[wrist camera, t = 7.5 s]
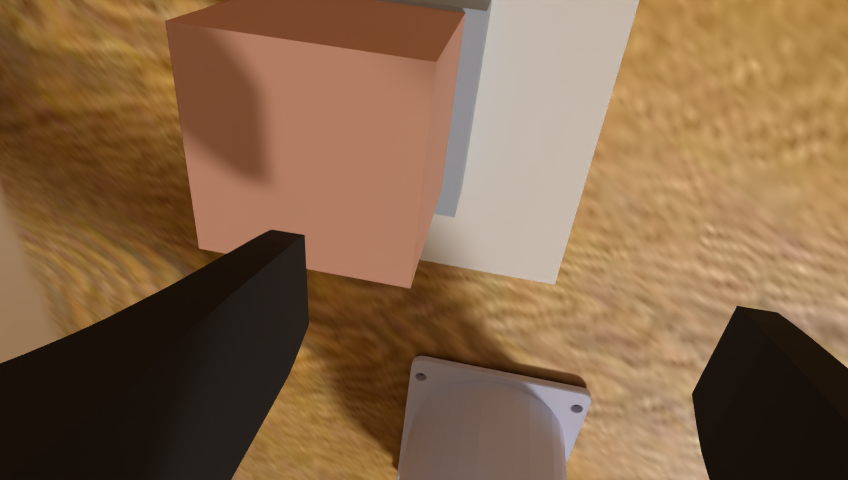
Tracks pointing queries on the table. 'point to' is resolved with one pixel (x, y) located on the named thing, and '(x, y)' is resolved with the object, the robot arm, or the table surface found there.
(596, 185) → the table surface
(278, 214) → the top brick
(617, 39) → the board
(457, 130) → the base brick
